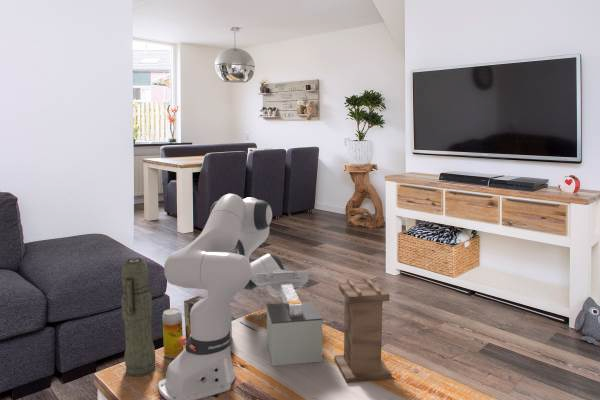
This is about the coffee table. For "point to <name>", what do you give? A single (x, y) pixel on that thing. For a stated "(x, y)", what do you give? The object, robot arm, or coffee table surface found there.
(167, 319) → the beer can
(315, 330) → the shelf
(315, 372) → the coffee table surface
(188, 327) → the coffee box
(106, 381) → the coffee table surface
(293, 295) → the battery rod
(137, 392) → the coffee table surface
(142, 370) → the thermos
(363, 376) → the stand
